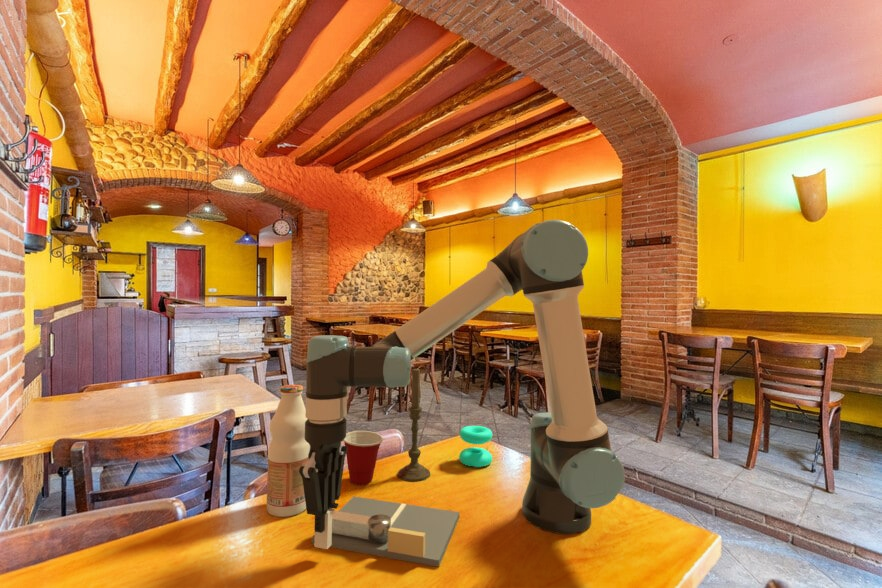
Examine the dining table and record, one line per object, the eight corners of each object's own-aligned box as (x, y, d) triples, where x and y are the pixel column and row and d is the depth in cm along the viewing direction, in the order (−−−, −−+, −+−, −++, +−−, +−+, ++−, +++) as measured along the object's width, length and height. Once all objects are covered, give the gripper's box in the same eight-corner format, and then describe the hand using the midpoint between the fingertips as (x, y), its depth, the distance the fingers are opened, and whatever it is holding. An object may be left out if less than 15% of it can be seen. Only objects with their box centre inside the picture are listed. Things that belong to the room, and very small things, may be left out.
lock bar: (393, 532, 82) (393, 516, 82) (385, 544, 78) (385, 527, 78) (328, 521, 86) (329, 505, 86) (317, 532, 81) (317, 516, 81)
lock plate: (459, 517, 91) (459, 495, 92) (438, 567, 74) (439, 539, 74) (353, 501, 98) (354, 480, 98) (311, 543, 81) (312, 517, 81)
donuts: (483, 423, 131) (498, 432, 121) (483, 454, 130) (497, 466, 121) (454, 425, 127) (467, 435, 118) (454, 458, 127) (466, 470, 118)
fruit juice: (261, 519, 89) (265, 390, 90) (271, 499, 98) (274, 382, 99) (306, 516, 91) (310, 390, 92) (312, 496, 100) (315, 382, 101)
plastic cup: (373, 492, 103) (374, 444, 103) (334, 487, 105) (335, 440, 106) (387, 474, 114) (388, 431, 114) (351, 470, 116) (352, 428, 116)
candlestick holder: (394, 469, 117) (397, 365, 118) (425, 466, 120) (427, 364, 121) (401, 483, 108) (403, 370, 109) (434, 479, 111) (436, 369, 112)
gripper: (327, 408, 84) (324, 524, 83) (286, 426, 71) (283, 562, 71) (360, 411, 82) (357, 530, 81) (324, 430, 69) (321, 571, 69)
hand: (322, 545), depth 76 cm, fingers closed
